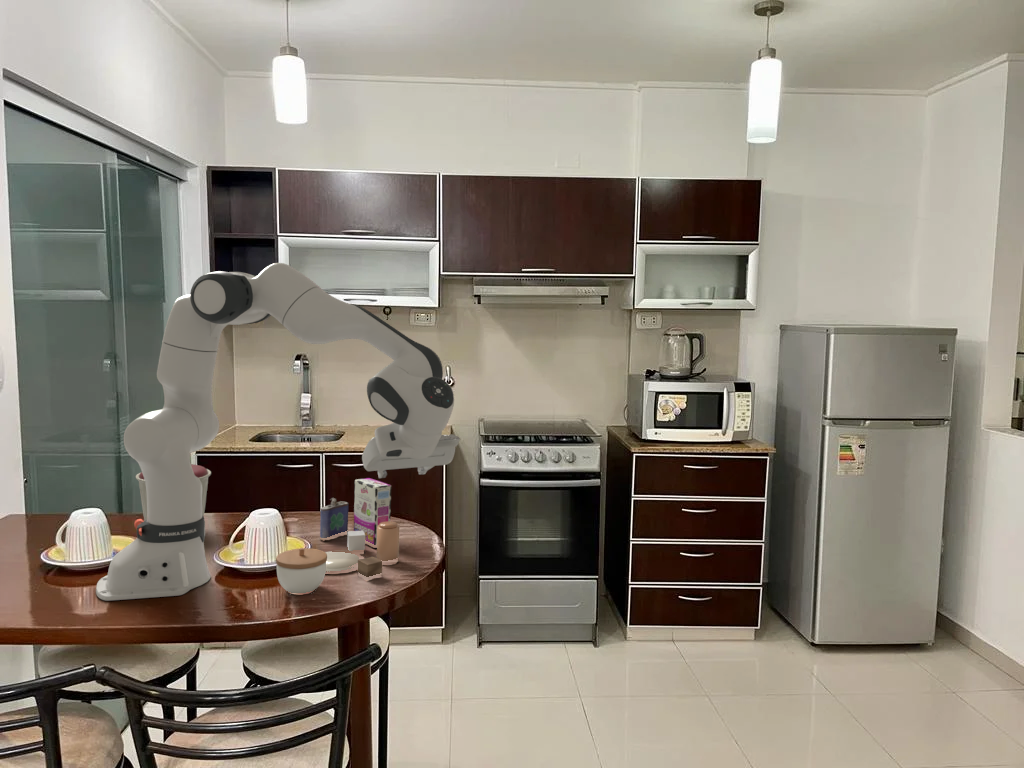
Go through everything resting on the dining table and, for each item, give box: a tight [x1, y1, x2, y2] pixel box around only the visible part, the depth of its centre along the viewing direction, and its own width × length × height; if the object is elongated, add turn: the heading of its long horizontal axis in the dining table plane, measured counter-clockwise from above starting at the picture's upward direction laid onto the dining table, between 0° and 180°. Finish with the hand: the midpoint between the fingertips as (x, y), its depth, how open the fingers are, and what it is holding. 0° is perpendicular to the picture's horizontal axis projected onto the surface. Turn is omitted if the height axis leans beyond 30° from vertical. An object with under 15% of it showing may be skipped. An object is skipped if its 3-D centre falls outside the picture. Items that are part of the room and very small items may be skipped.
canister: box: [135, 463, 212, 521], centre depth 193 cm, size 18×18×21 cm
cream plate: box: [324, 550, 360, 572], centre depth 175 cm, size 14×14×1 cm
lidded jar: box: [275, 547, 327, 593], centre depth 158 cm, size 11×11×9 cm
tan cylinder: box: [376, 520, 400, 561], centre depth 178 cm, size 5×5×10 cm
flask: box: [319, 497, 350, 538], centre depth 196 cm, size 9×3×11 cm, turn 146°
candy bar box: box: [353, 477, 392, 545], centre depth 192 cm, size 11×5×16 cm, turn 42°
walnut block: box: [357, 556, 383, 577], centre depth 168 cm, size 4×4×4 cm
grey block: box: [346, 530, 366, 551], centre depth 185 cm, size 4×4×5 cm
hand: (401, 473), depth 164 cm, fingers open, 8 cm apart
